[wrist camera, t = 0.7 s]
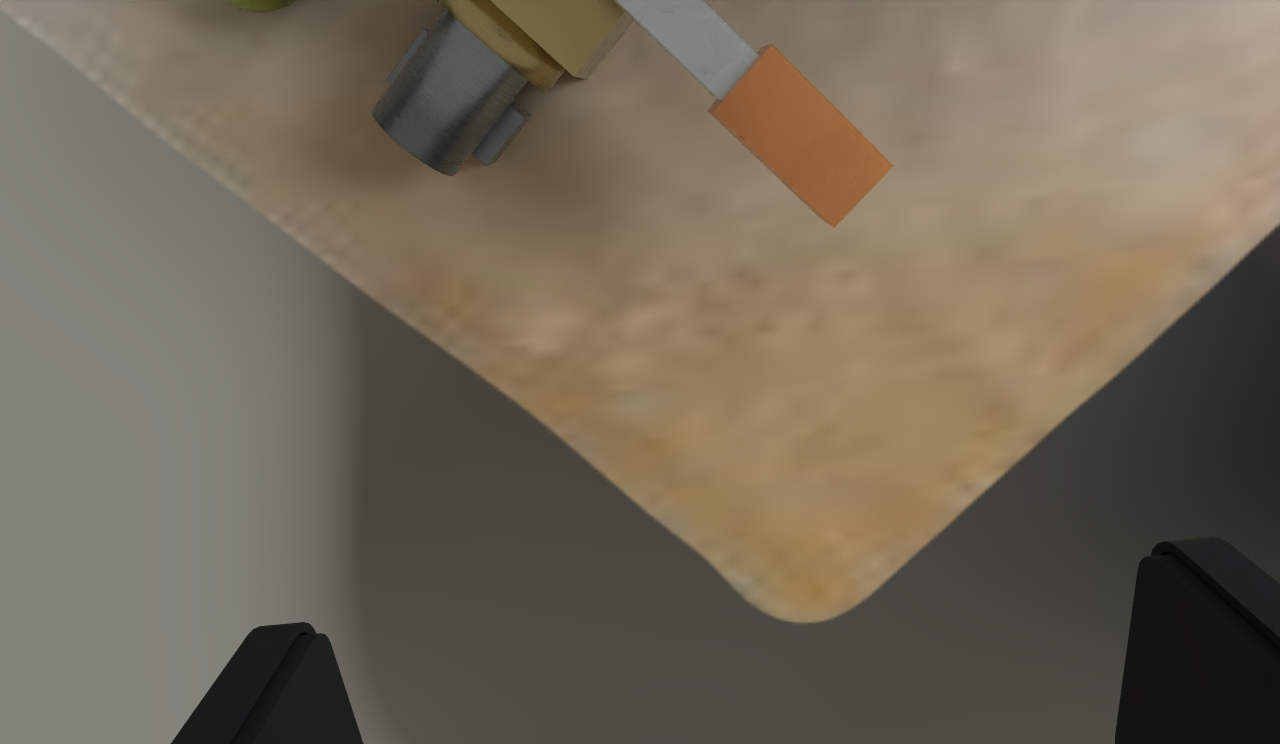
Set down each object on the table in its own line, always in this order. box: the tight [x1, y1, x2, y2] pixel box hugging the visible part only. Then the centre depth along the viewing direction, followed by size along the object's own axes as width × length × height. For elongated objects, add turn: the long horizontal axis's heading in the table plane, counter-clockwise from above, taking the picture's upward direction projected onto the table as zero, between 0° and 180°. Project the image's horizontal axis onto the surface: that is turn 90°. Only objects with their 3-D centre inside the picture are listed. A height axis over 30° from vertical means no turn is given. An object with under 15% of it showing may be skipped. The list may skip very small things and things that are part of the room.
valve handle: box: [613, 0, 893, 227], centre depth 22 cm, size 13×3×2 cm, turn 49°
